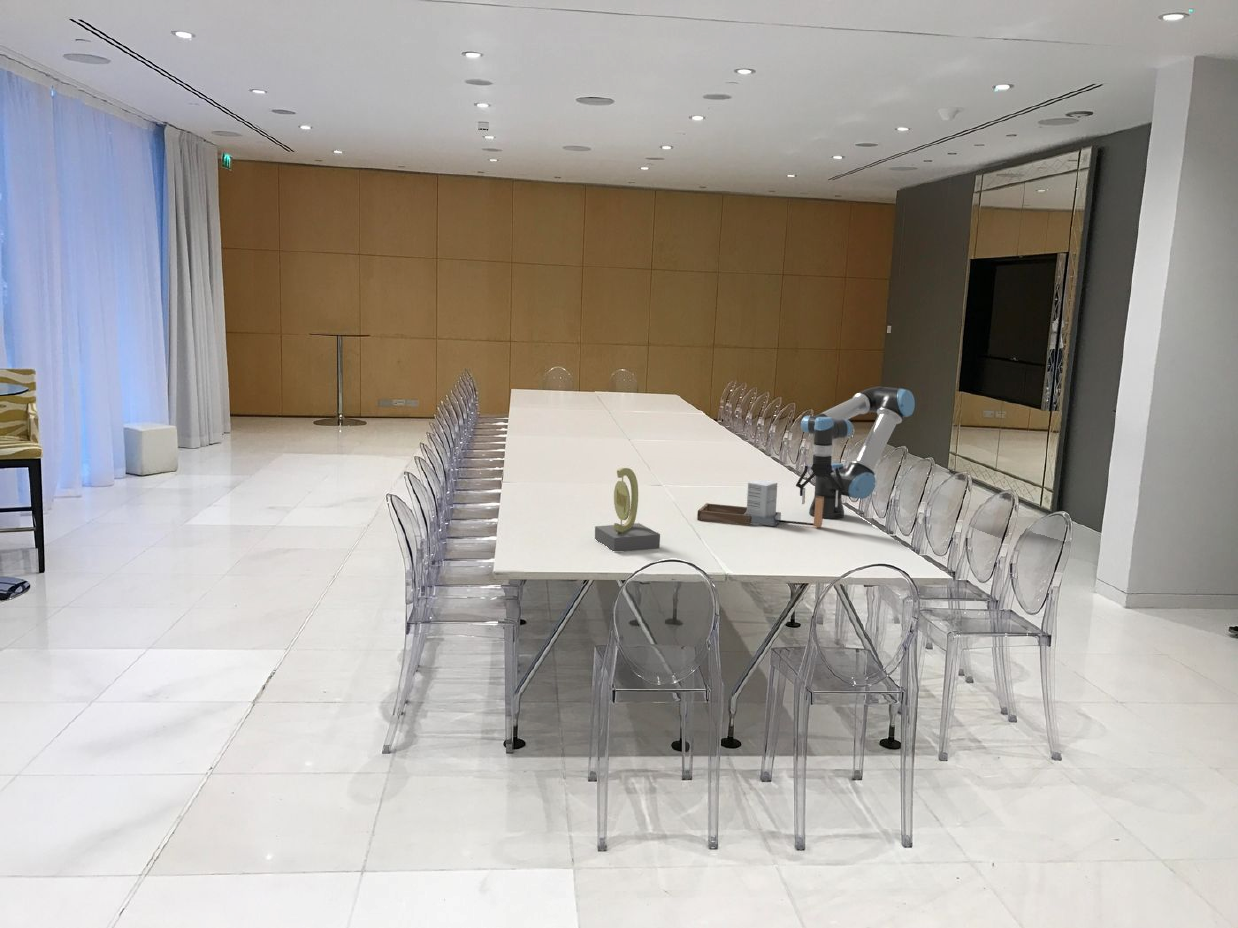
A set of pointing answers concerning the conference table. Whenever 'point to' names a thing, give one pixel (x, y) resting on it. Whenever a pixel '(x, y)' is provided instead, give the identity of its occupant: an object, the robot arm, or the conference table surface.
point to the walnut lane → (724, 514)
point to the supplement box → (762, 499)
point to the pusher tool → (774, 521)
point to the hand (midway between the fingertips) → (819, 505)
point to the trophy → (630, 532)
